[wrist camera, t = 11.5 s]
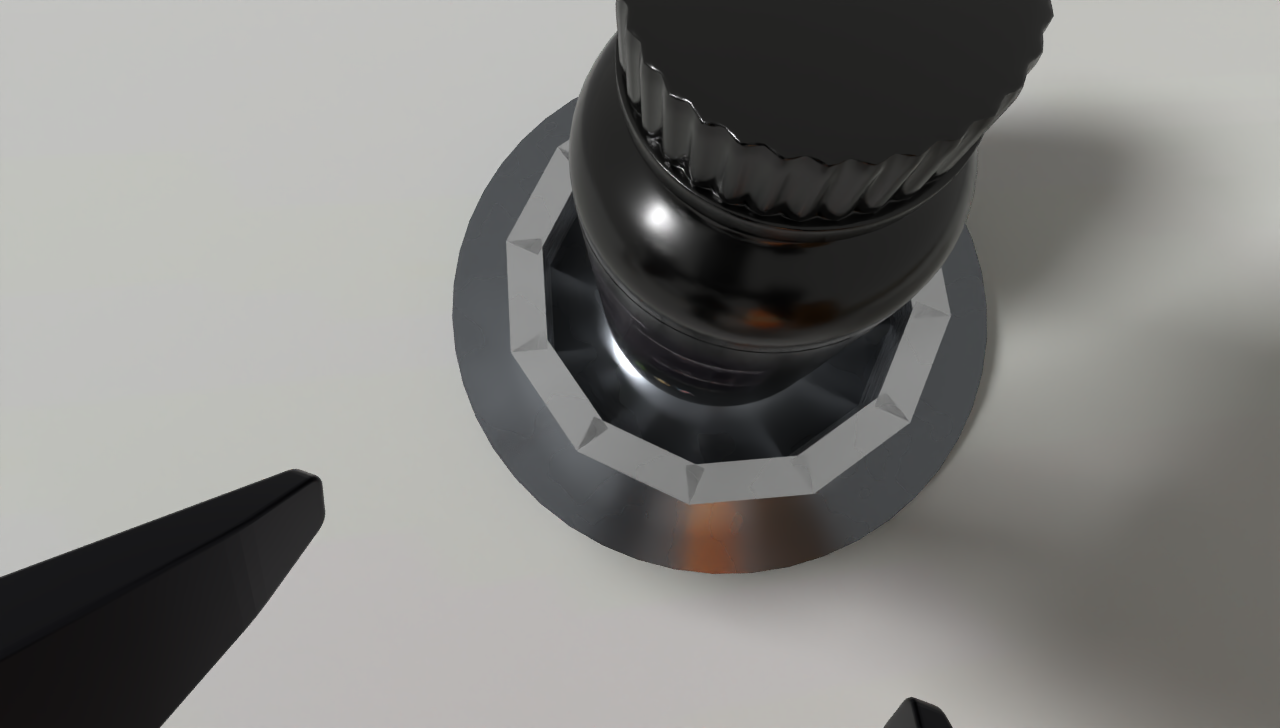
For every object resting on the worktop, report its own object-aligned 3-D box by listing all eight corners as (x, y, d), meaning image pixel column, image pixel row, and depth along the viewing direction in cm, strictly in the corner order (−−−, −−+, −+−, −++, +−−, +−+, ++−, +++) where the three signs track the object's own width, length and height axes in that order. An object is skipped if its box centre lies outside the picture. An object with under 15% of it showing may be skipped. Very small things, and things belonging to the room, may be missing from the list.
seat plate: (1017, 544, 18) (1107, 557, 14) (469, 592, 18) (427, 617, 14) (919, 64, 21) (974, -20, 18) (456, 100, 21) (419, 23, 17)
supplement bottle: (672, 157, 19) (718, -367, 7) (868, 258, 18) (1261, -143, 7) (558, 340, 18) (400, 60, 6) (763, 456, 17) (1017, 388, 6)
